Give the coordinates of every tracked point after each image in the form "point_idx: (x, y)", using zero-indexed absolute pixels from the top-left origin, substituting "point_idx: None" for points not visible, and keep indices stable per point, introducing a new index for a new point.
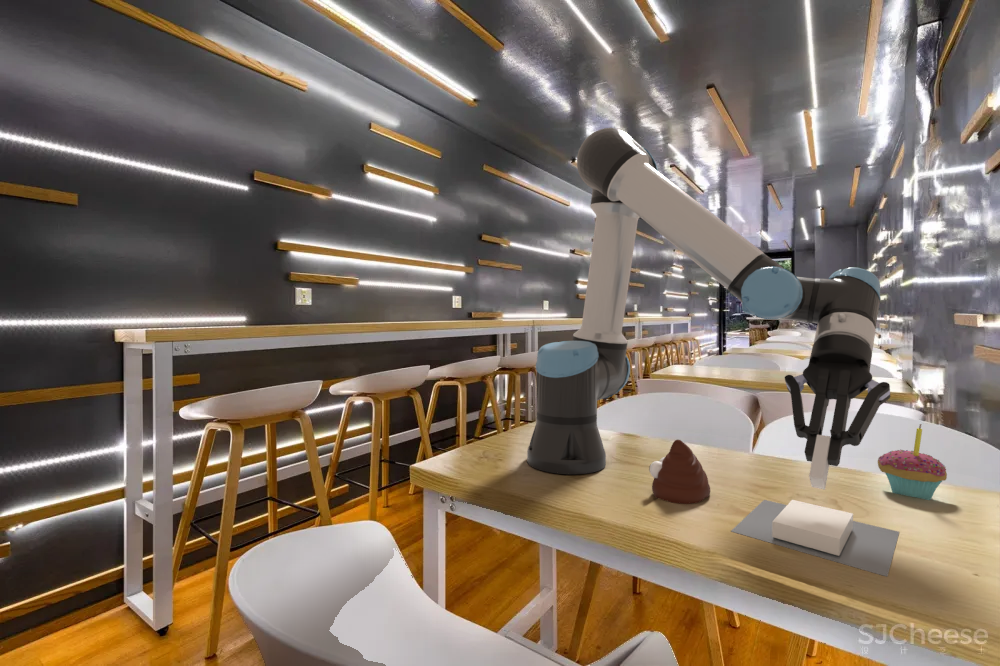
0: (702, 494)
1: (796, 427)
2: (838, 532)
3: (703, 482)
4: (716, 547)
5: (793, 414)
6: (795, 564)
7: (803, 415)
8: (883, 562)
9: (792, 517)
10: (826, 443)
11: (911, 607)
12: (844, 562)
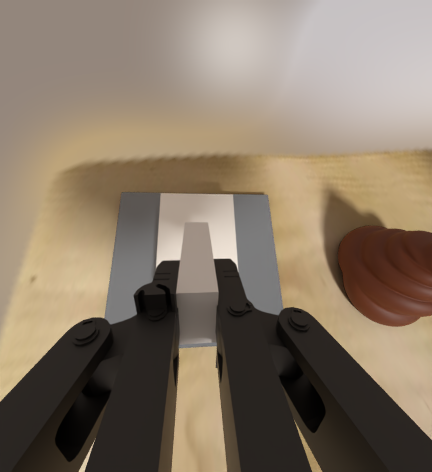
0: (343, 256)
1: (297, 309)
2: (163, 211)
3: (362, 268)
4: (263, 165)
5: (365, 373)
6: (198, 177)
7: (334, 442)
8: (124, 222)
9: (218, 223)
10: (184, 271)
11: (107, 163)
12: (158, 196)
